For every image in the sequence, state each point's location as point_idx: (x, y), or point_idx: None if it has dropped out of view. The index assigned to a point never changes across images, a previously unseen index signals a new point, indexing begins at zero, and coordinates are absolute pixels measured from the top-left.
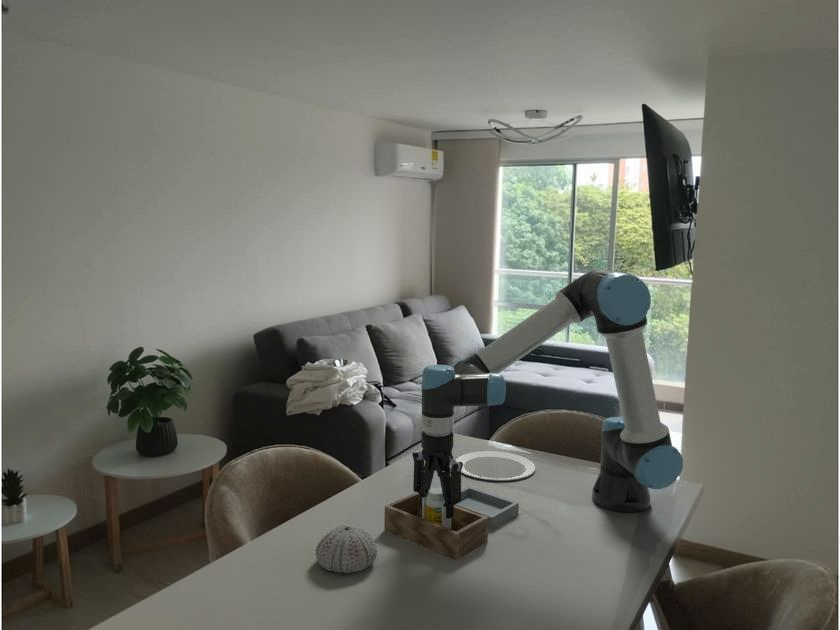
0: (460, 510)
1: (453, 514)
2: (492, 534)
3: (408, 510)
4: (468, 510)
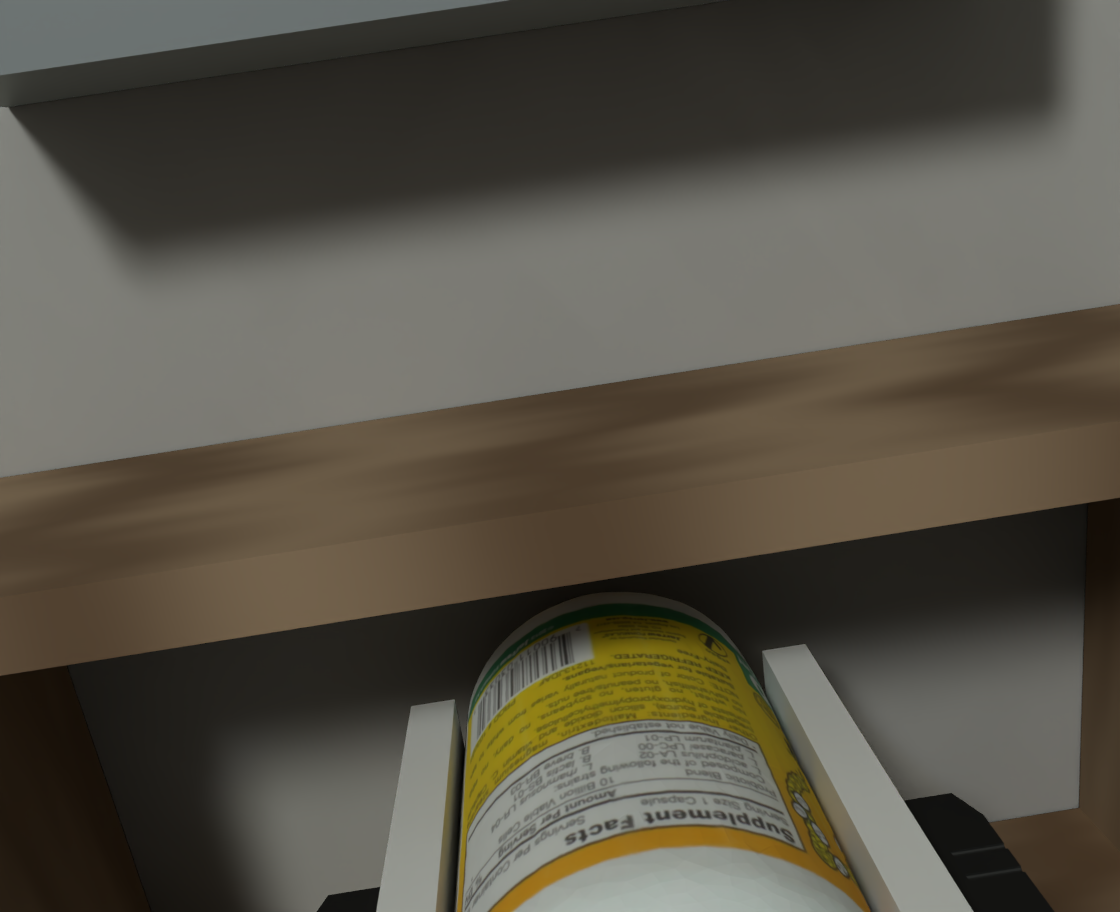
0: (872, 528)
1: (985, 822)
2: (1080, 84)
3: (1, 781)
4: (1018, 447)
